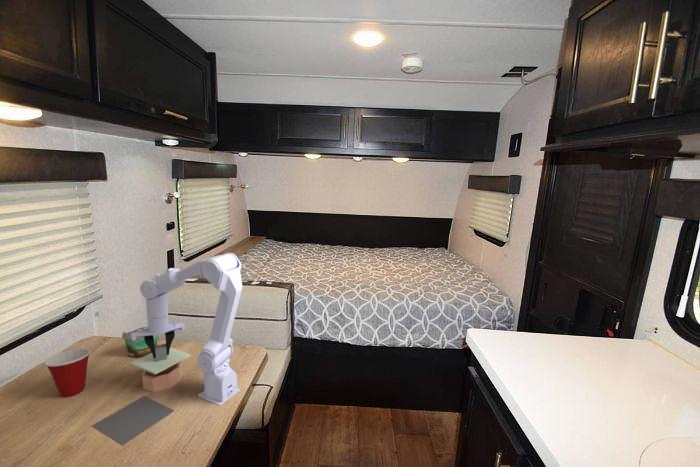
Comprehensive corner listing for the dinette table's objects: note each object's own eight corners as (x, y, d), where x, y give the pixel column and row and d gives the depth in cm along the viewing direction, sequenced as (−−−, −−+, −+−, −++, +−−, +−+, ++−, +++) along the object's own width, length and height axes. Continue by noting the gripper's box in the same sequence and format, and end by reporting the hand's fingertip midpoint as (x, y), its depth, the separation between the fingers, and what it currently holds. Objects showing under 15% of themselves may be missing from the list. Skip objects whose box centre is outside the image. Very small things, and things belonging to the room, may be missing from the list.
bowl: (189, 375, 110) (187, 362, 109) (161, 395, 100) (160, 380, 99) (165, 369, 113) (163, 356, 112) (136, 388, 104) (134, 373, 103)
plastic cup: (89, 376, 109) (85, 342, 107) (99, 389, 102) (95, 354, 100) (45, 392, 101) (40, 355, 99) (52, 408, 94) (47, 369, 92)
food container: (130, 363, 117) (128, 337, 115) (123, 357, 120) (121, 332, 119) (166, 350, 126) (164, 325, 125) (159, 345, 130) (157, 321, 129)
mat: (174, 411, 93) (174, 410, 93) (122, 446, 81) (122, 445, 81) (144, 396, 99) (144, 395, 99) (91, 427, 87) (91, 425, 87)
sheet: (190, 355, 108) (189, 342, 107) (155, 374, 97) (154, 360, 97) (166, 347, 113) (165, 335, 113) (130, 364, 103) (129, 350, 102)
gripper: (182, 306, 110) (184, 344, 112) (130, 315, 102) (133, 355, 104) (185, 313, 104) (187, 353, 107) (130, 323, 96) (134, 366, 99)
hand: (161, 355), depth 105 cm, fingers closed on sheet, 3 cm apart
